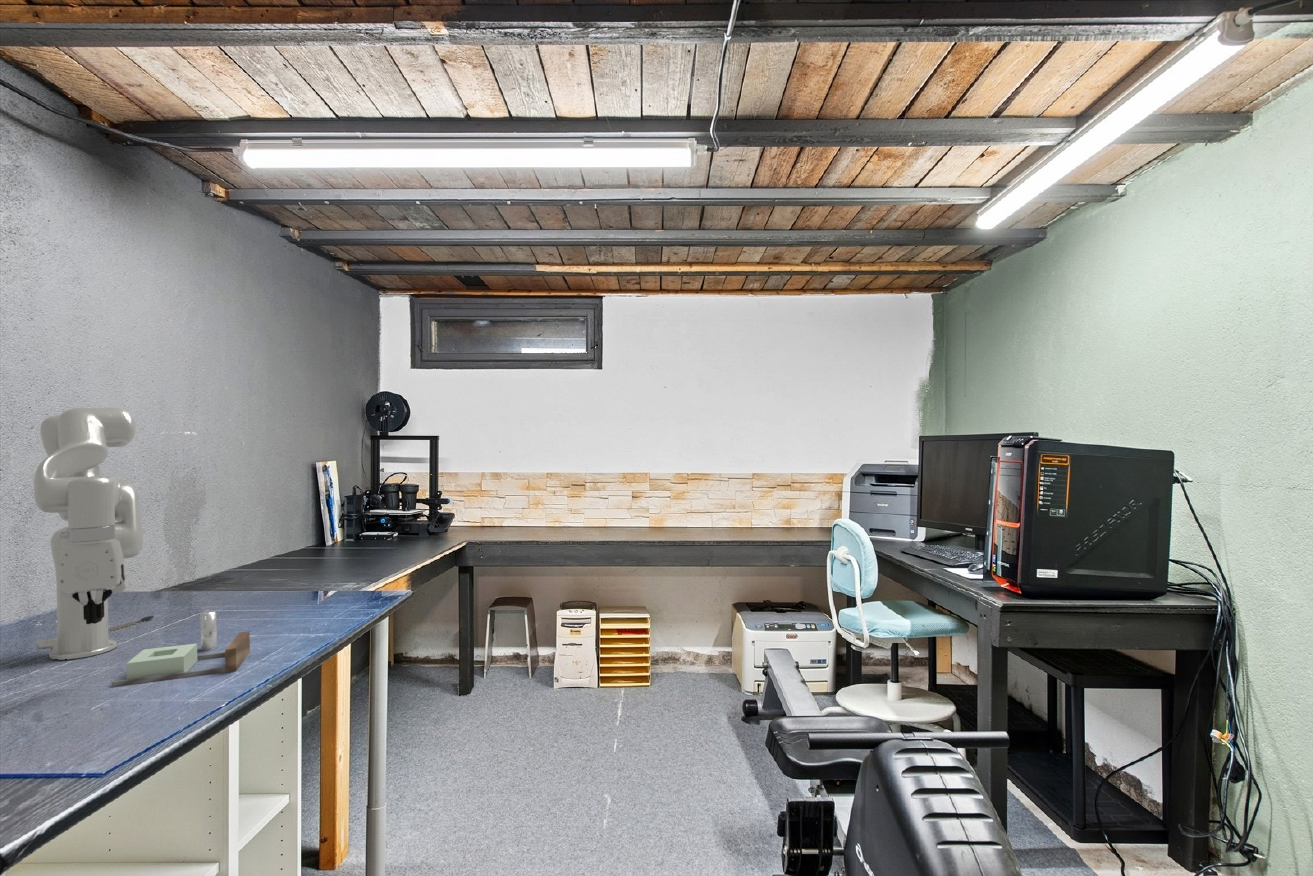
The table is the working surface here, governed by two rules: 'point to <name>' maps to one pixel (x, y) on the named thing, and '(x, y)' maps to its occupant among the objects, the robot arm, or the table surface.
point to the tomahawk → (131, 623)
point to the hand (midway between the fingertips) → (94, 622)
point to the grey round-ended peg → (208, 630)
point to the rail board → (232, 658)
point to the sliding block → (162, 661)
